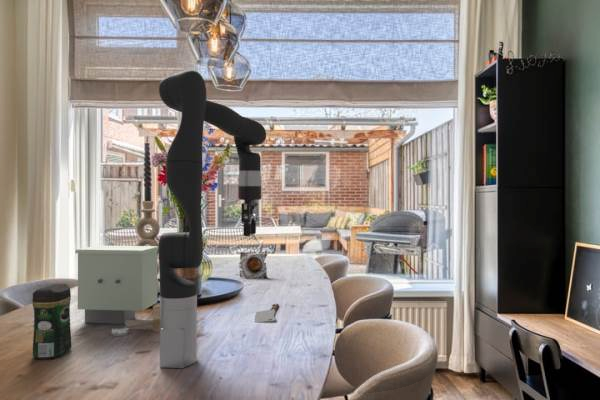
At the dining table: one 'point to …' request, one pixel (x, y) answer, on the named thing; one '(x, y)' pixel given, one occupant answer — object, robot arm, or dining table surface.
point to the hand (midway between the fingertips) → (249, 234)
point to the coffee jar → (51, 321)
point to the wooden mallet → (147, 321)
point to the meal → (253, 265)
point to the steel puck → (120, 331)
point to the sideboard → (116, 282)
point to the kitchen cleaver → (267, 315)
